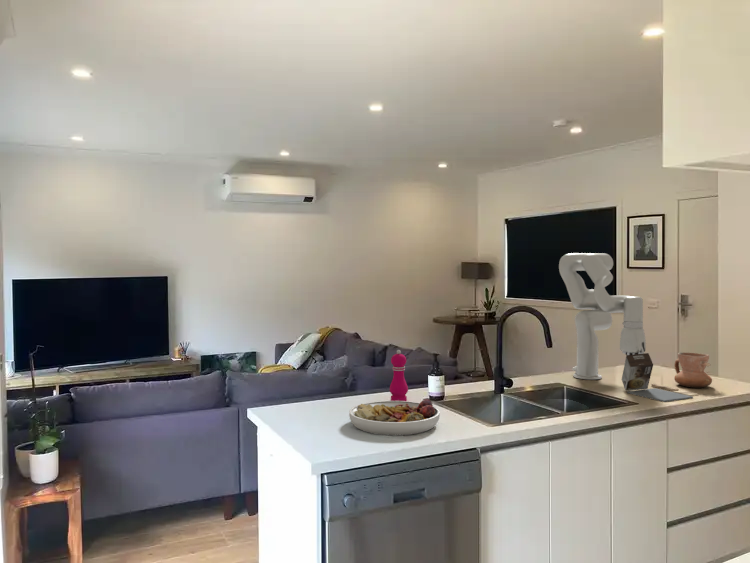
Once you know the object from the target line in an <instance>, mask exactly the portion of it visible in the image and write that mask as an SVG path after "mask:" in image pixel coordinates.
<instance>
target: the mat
mask: <svg viewBox="0 0 750 563" xmlns="http://www.w3.org/2000/svg"><path fill="white" fill-rule="evenodd" d="M626 393H627V394H629V393H630V395H633V394H634V396H638V395H639V396H638V397H642V396H643V397H642V398H646V397H647V399H650V398H651V399H650V400H654V399H655V400H654V401H658V400H659V401H658V402H662V401H663V402H662V403H667V401H668V402H674V400H676V401H681V400H682V399H683V400H688V398H691V399H694V396H688V395H683V394H679V393H674V392H673V391H668V390H664V389H659V388H655V387H652V388H648V389H641V390H629V391H626ZM683 400H682V401H683Z"/></svg>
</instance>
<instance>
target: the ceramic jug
mask: <svg viewBox="0 0 750 563" xmlns="http://www.w3.org/2000/svg"><path fill="white" fill-rule="evenodd" d="M709 359H710V354H707V353H696V352H695V353H694V352H689V351H688V352H683V351H680V352H678V353H677V358H676V359H675V361H674V369H675V372H676V374H675V375H674V381H675V383H677V384H679V385H680V386H682V387H685V388H686V387H687V388H692V389H699V388H707V387H709V386H710V385H711V384H712V382H713V379H712V377H711V376H710V375H709V374H707V373H706V372H705V369H706V367H708V368H709V367H710V366H711V364H710V363H709ZM680 367H681V369H682V370H680Z"/></svg>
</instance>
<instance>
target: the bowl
mask: <svg viewBox="0 0 750 563" xmlns="http://www.w3.org/2000/svg"><path fill="white" fill-rule="evenodd" d="M348 413H349V414H348V416H349V419H350V422H351V423H352V425H353V426H355V427H356V428H357V429H358V430H361V431H363V432H365V433H369V434H372V435H373V434H374V435H380V436H409V435H416V434H417V435H418V434H421V433H425V432H427V431H429V430H431V429H433V428H434V427H435V426H436V425H437V424H438V423H439V421H440V416H441V413H440V410H439V409H438V408H437V407H435V406H433V402H432V401H431V400H430V399H428V398H425V399H423V400H422V401H420V402H417V401H408V400H407V401H391V400H382V401H381V400H379V401H369V402H364V403H361V404H357V405H355V406H353V407H351V408H350V409H349V412H348Z"/></svg>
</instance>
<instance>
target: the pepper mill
mask: <svg viewBox="0 0 750 563" xmlns="http://www.w3.org/2000/svg"><path fill="white" fill-rule="evenodd" d="M390 363H391V365H392V371H393V377H392V380H391V383H390V385H389V393H390V394H391V396H390V401H408V396H407V393H408V392H409V387H408V383H407V381H406V379H405V370H406V366H405V365H406V363H407V357H406V356H405V355H404V354H402V351H401V350H400V349H397V350H396V353H395V354H393V355H392V356H391V358H390Z"/></svg>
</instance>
